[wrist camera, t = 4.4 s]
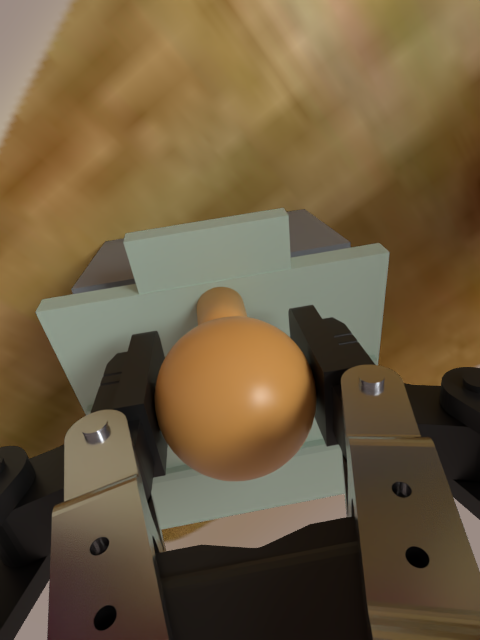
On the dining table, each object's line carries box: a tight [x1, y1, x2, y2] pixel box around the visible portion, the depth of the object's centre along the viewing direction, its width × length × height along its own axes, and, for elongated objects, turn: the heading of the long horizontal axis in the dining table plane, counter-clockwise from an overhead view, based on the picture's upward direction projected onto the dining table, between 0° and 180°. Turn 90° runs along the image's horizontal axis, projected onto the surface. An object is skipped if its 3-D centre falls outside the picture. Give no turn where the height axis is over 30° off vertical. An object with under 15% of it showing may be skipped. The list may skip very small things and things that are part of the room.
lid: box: [35, 208, 390, 529], centre depth 14 cm, size 12×15×7 cm
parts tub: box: [71, 209, 351, 294], centre depth 22 cm, size 11×14×7 cm
